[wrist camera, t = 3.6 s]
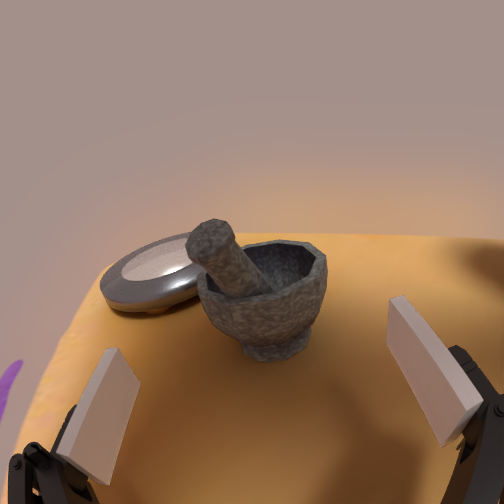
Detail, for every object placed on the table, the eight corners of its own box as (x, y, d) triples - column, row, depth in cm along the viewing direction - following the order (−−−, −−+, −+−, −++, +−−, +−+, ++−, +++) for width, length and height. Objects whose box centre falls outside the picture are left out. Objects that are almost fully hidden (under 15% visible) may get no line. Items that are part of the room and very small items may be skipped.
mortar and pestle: (248, 301, 29) (220, 189, 24) (337, 304, 25) (323, 176, 20) (192, 379, 20) (130, 239, 15) (310, 403, 16) (282, 227, 11)
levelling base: (242, 240, 47) (236, 215, 45) (239, 308, 28) (228, 270, 26) (137, 263, 48) (129, 241, 46) (87, 329, 29) (71, 299, 28)
